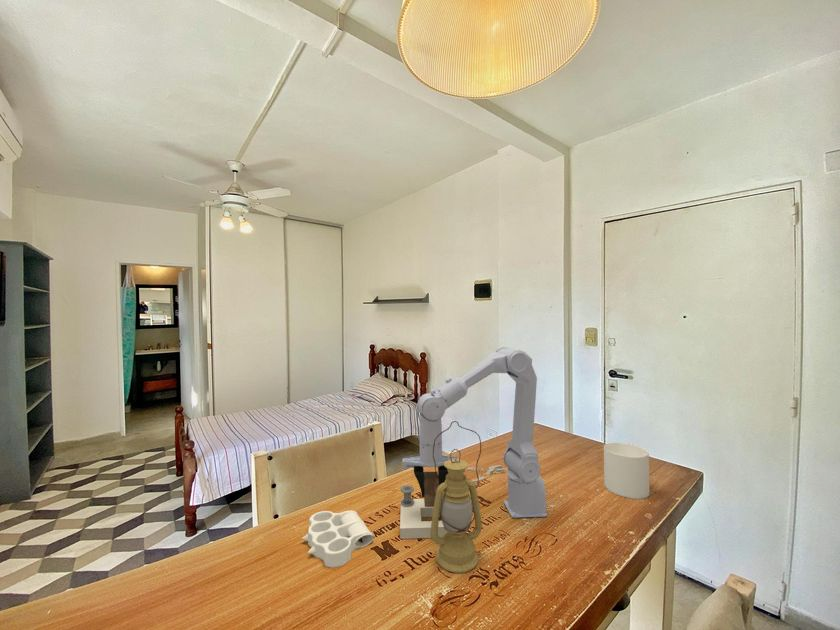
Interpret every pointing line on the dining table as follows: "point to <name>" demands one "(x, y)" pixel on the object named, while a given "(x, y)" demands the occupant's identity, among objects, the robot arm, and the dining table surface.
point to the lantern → (456, 517)
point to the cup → (626, 470)
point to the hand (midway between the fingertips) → (431, 495)
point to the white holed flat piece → (336, 536)
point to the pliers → (488, 471)
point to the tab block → (430, 488)
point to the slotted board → (416, 517)
